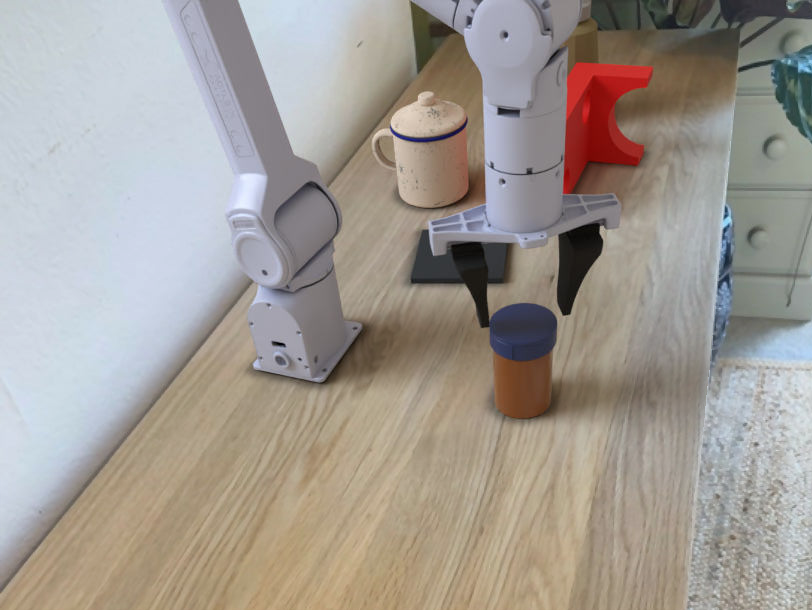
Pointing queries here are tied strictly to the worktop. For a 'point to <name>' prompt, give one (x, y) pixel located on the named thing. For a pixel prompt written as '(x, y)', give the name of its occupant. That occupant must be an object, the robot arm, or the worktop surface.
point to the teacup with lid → (428, 151)
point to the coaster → (443, 265)
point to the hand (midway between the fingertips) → (523, 314)
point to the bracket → (598, 117)
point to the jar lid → (523, 331)
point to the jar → (522, 385)
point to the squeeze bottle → (583, 40)
